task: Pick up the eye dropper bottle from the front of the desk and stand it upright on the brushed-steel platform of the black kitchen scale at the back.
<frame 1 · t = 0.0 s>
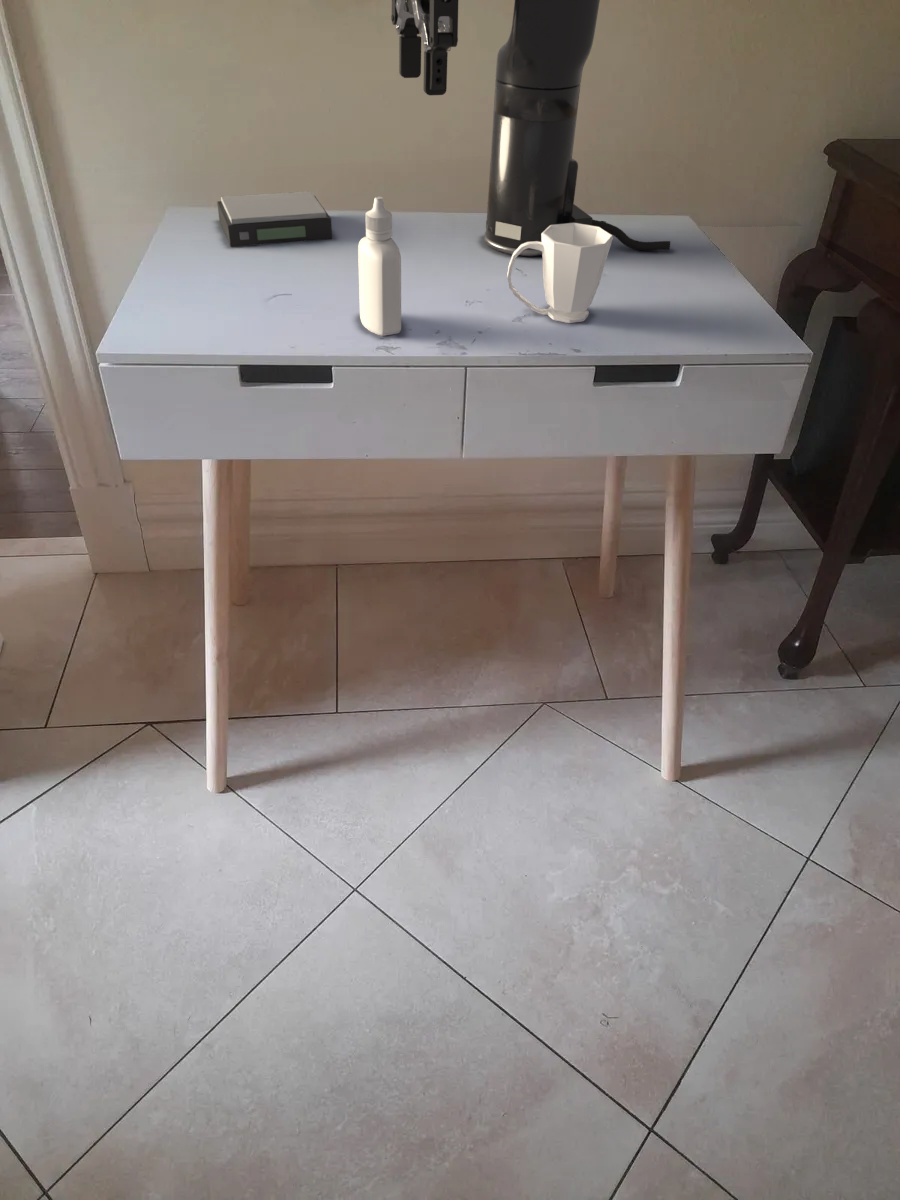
hand: (421, 85, 92), 17 cm above the table, tool pointing down, fingers open, 8 cm apart
eye dropper bottle: (380, 327, 88), on the table
scale: (275, 230, 107), on the table
cup: (552, 315, 91), on the table
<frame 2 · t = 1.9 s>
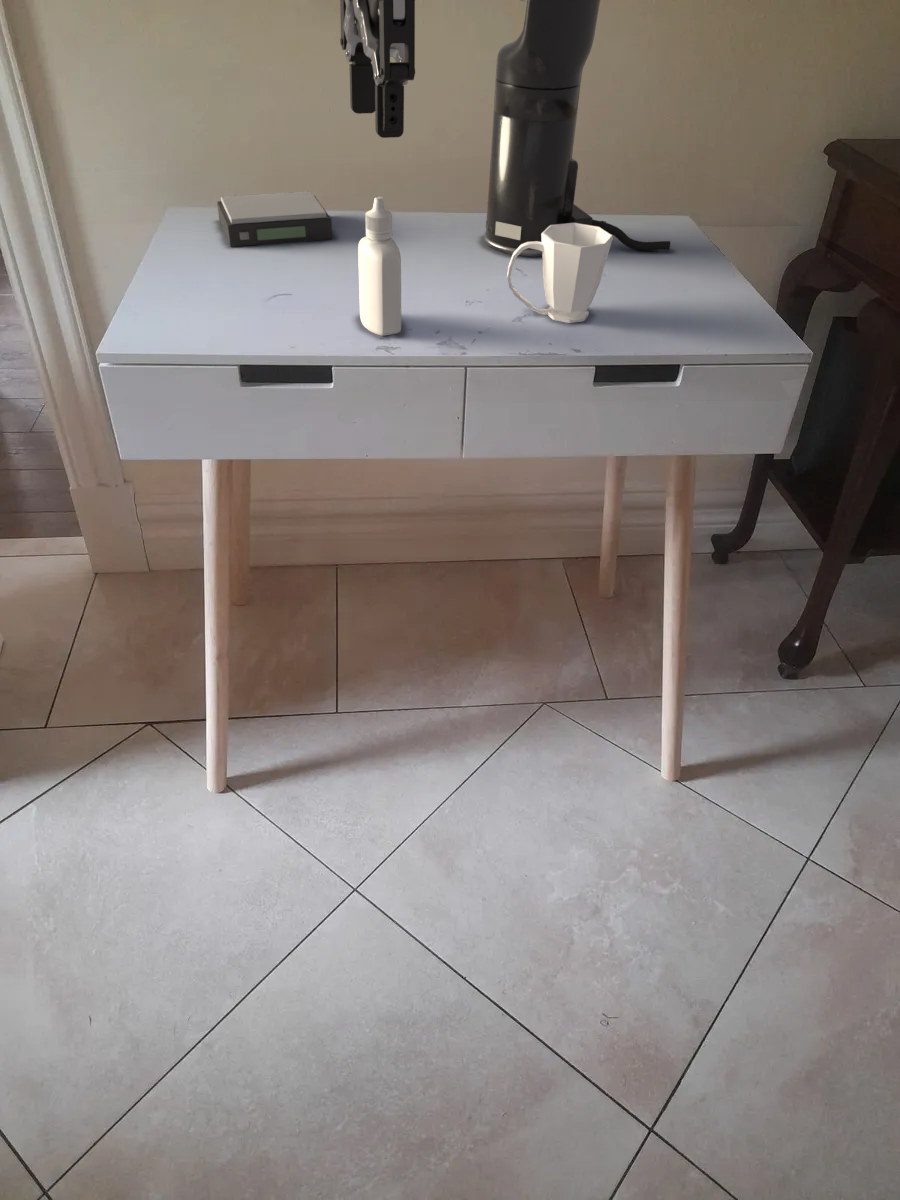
hand: (375, 123, 76), 18 cm above the table, tool pointing down, fingers open, 8 cm apart
nothing on the table moved.
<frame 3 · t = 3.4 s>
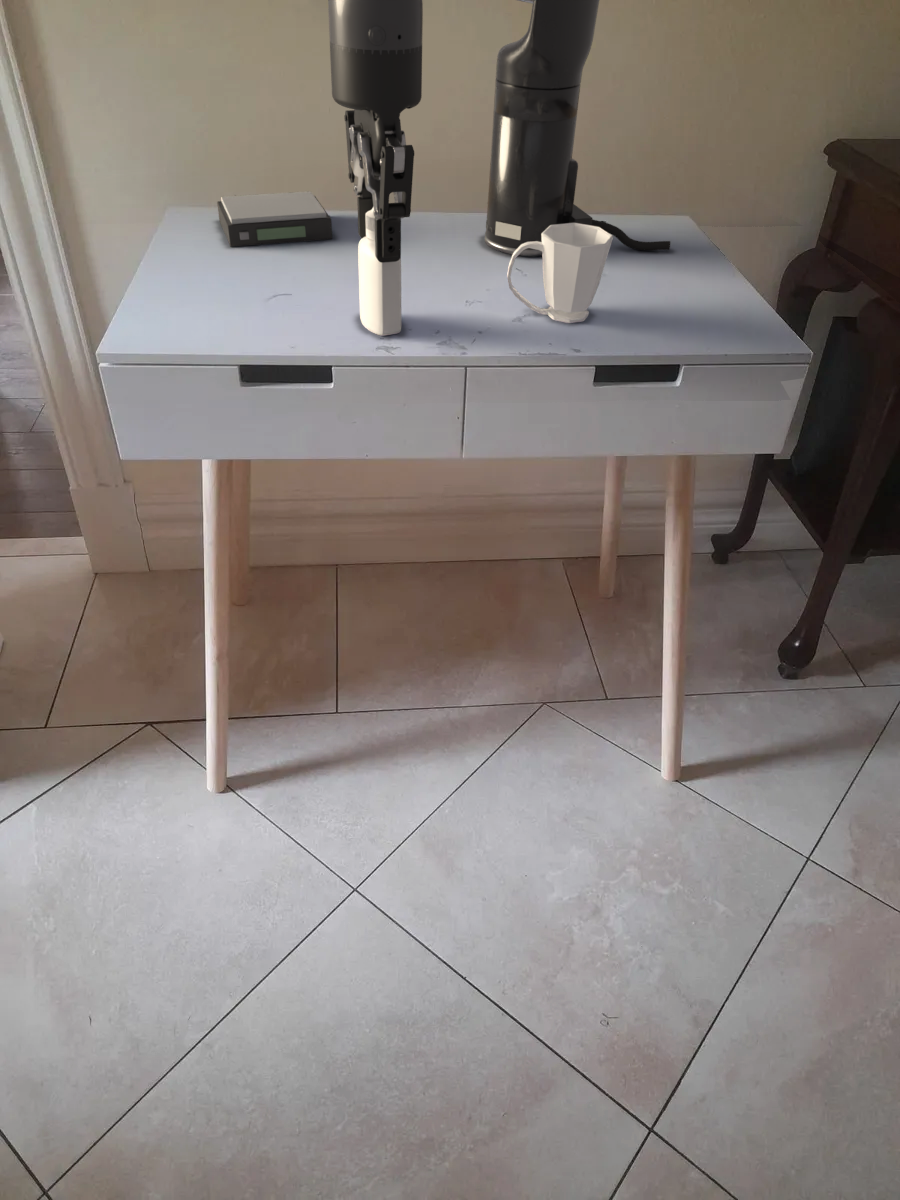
hand: (378, 248, 83), 8 cm above the table, tool pointing down, fingers closed on eye dropper bottle, 5 cm apart
eye dropper bottle: (380, 327, 88), on the table, touching gripper
everything else where it was.
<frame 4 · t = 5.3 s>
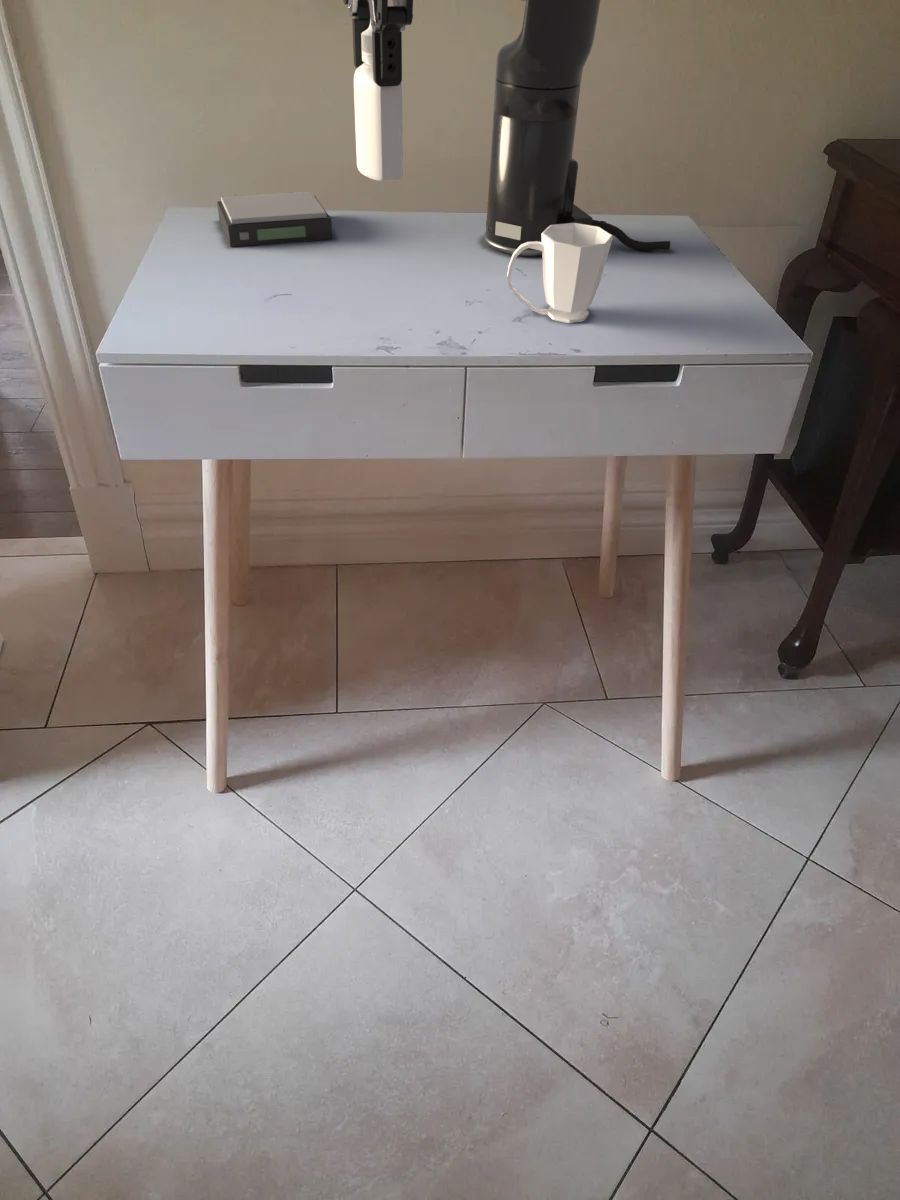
hand: (377, 76, 74), 22 cm above the table, tool pointing down, fingers closed on eye dropper bottle, 5 cm apart
eye dropper bottle: (379, 175, 79), point 14 cm above the table, touching gripper
everything else where it was.
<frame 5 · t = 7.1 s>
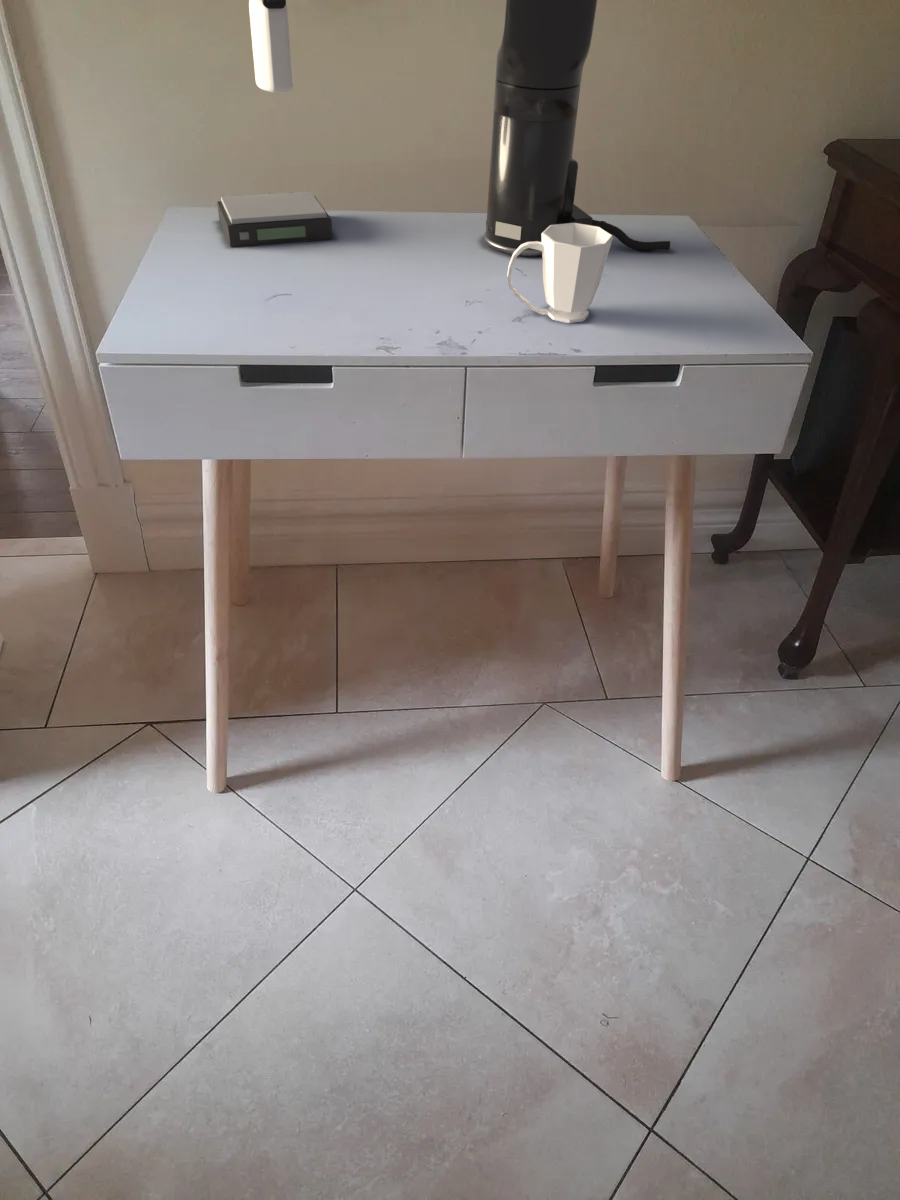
hand: (268, 2, 89), 24 cm above the table, tool pointing down, fingers closed on eye dropper bottle, 5 cm apart
eye dropper bottle: (274, 89, 94), point 16 cm above the table, touching gripper
everything else where it was.
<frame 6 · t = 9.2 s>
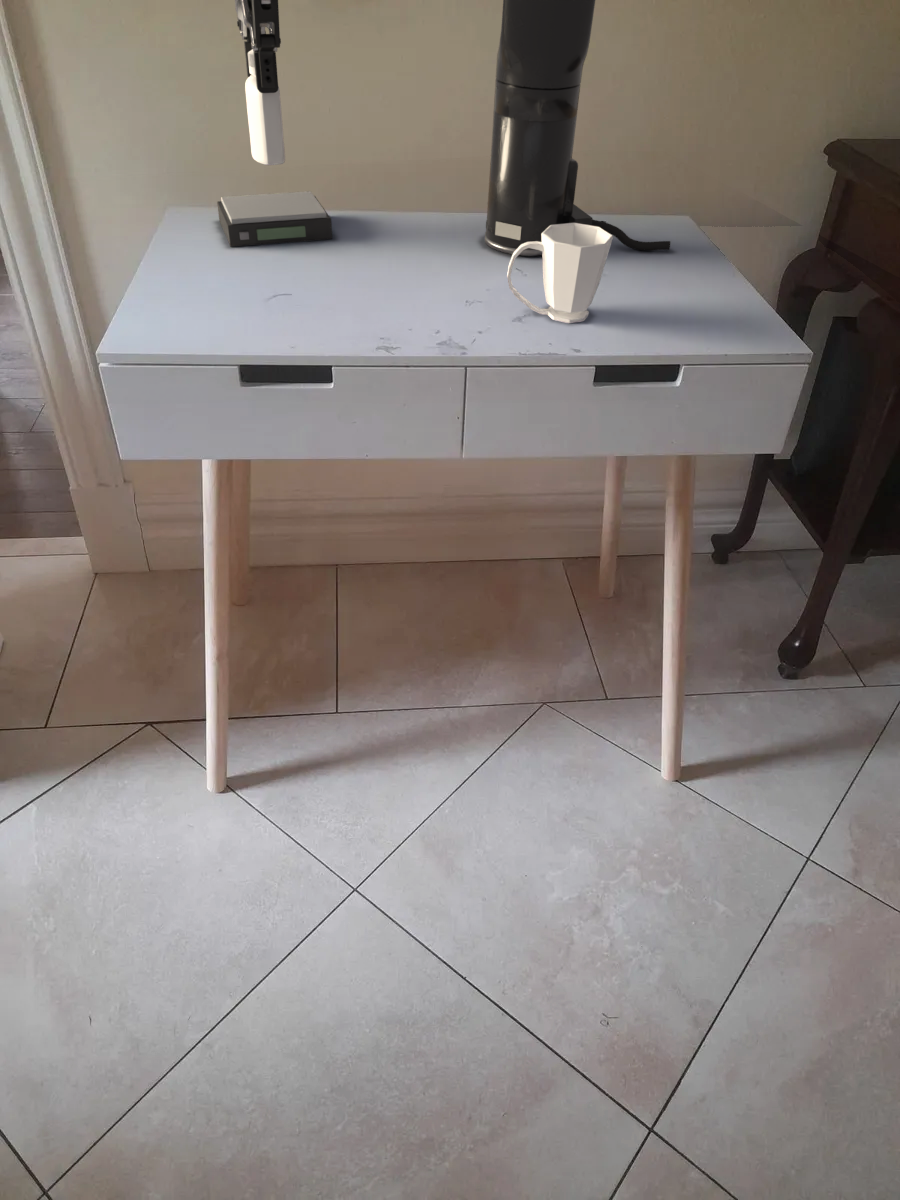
hand: (262, 85, 97), 15 cm above the table, tool pointing down, fingers closed on eye dropper bottle, 5 cm apart
eye dropper bottle: (268, 161, 102), point 8 cm above the table, touching gripper
everything else where it was.
when the fingers open (11 cm above the table, at t = 10.9 s): eye dropper bottle stays where it is, resting on scale.
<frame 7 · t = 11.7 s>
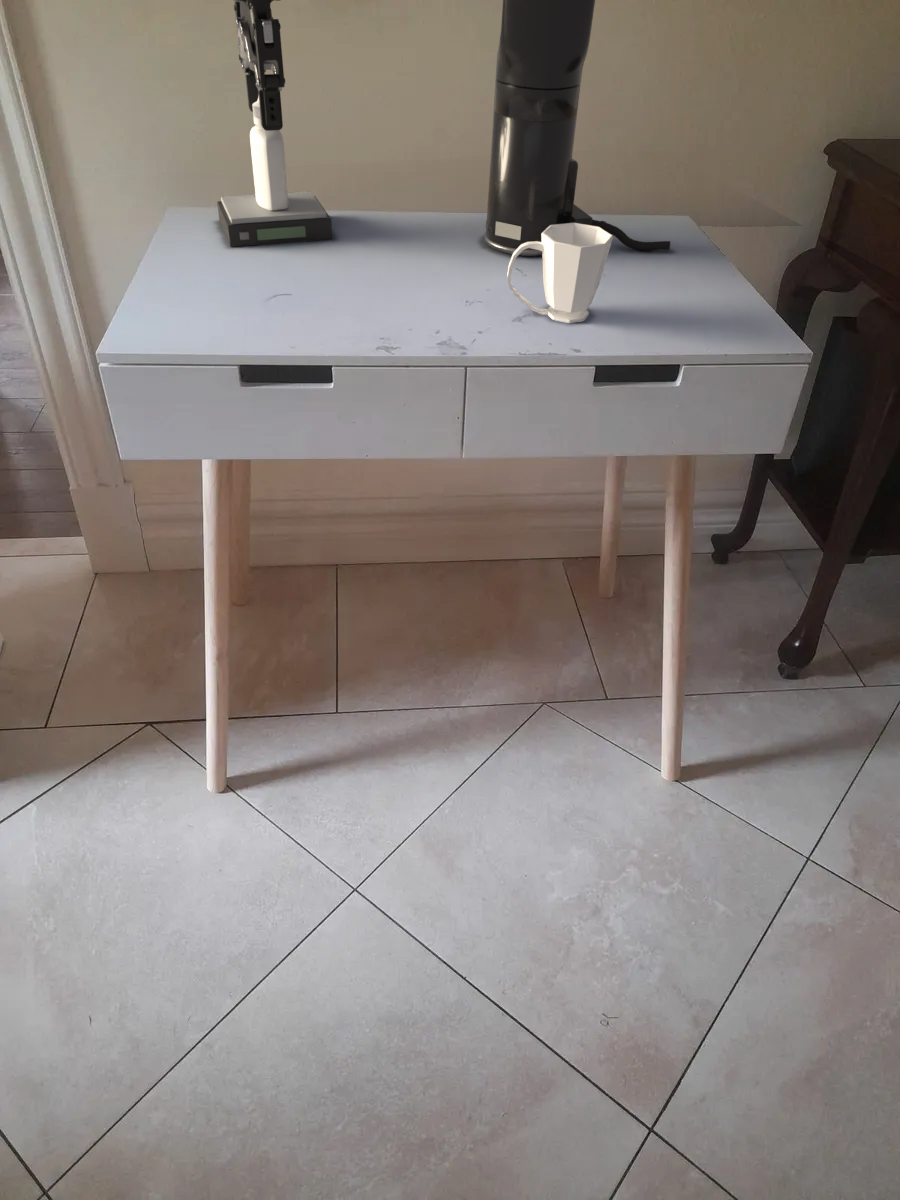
hand: (265, 120, 99), 12 cm above the table, tool pointing down, fingers open, 8 cm apart
eye dropper bottle: (272, 206, 105), point 3 cm above the table, touching scale
everything else where it was.
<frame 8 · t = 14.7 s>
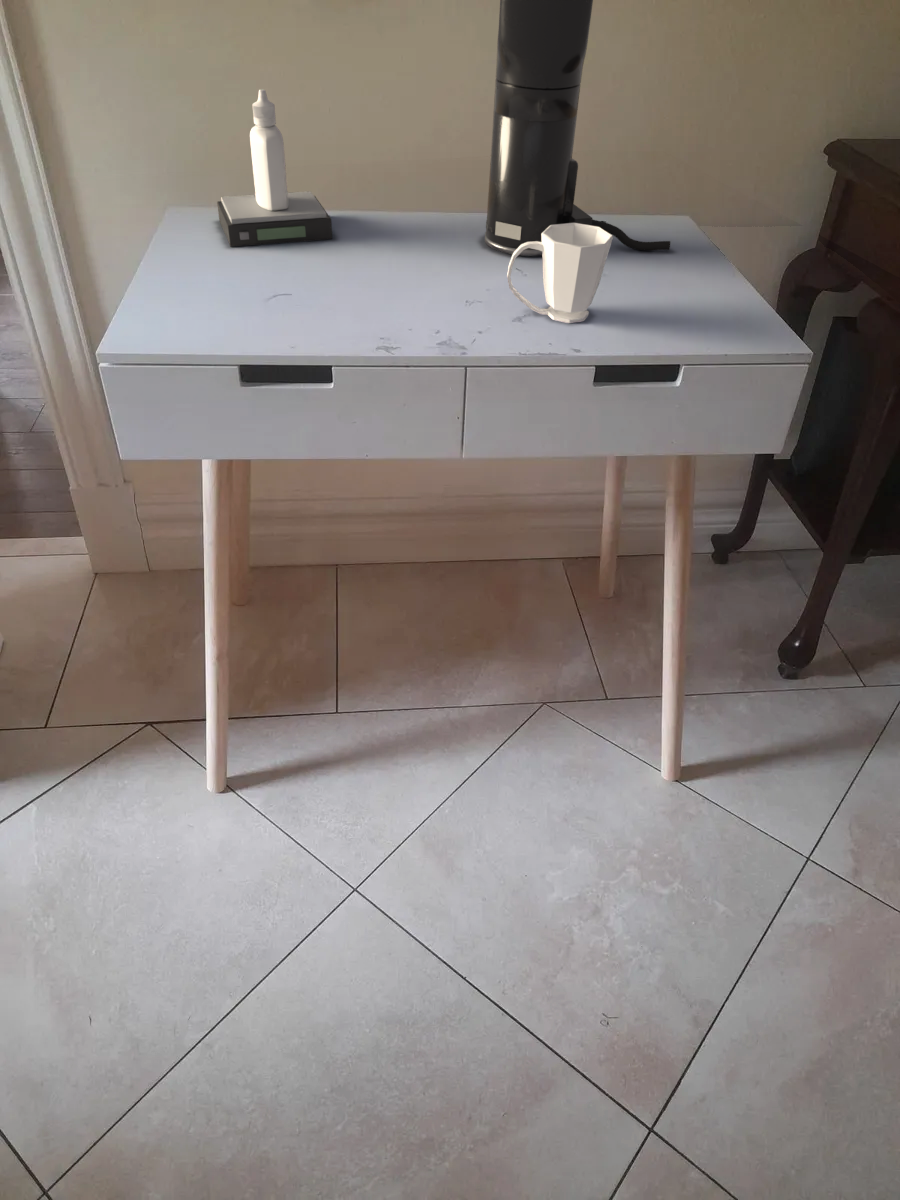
nothing on the table moved.
at the end: eye dropper bottle inside the target area on the scale (0.1 cm from its centre), point 2.8 cm above the scale's base; eye dropper bottle tilted 0°; the gripper is holding nothing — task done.
